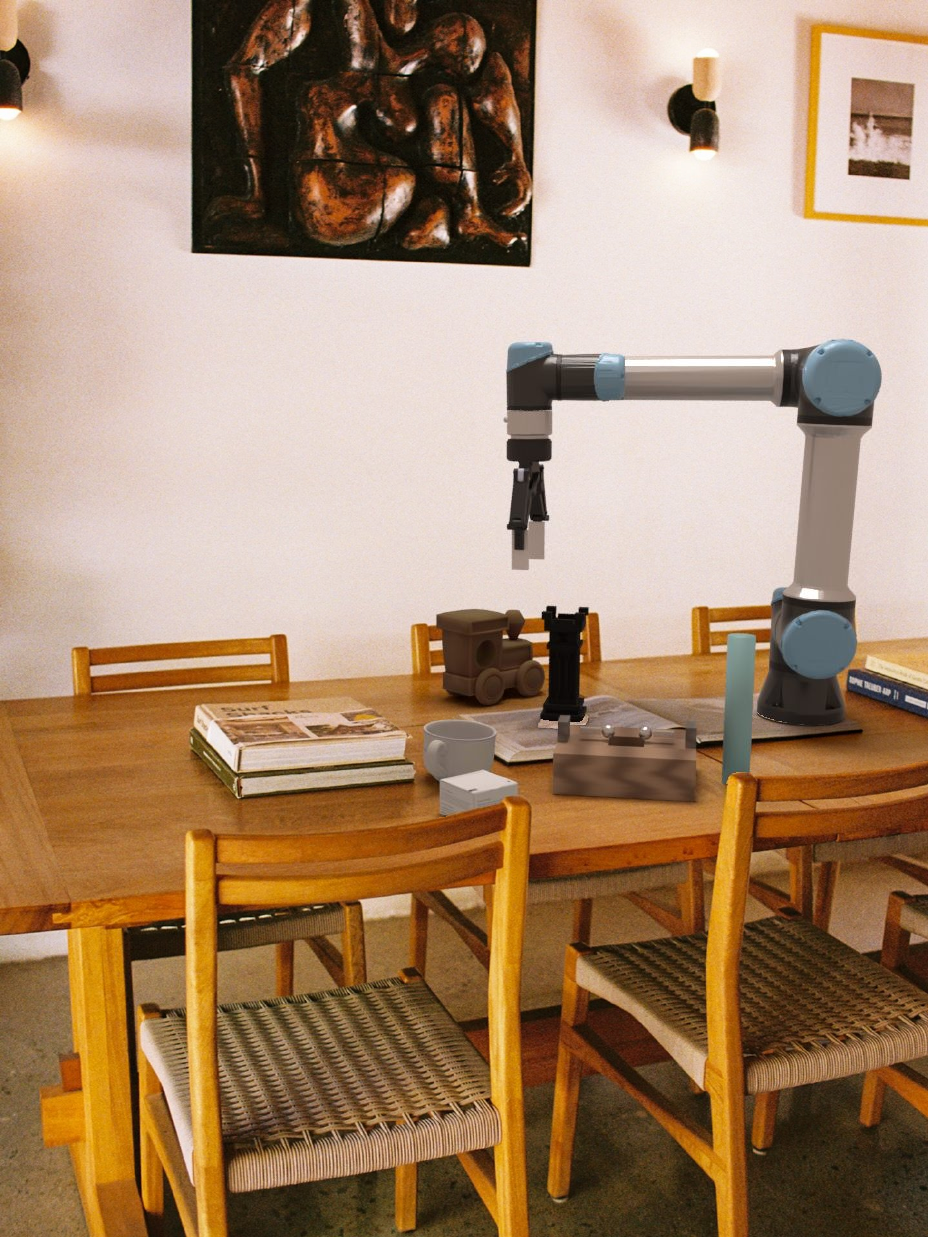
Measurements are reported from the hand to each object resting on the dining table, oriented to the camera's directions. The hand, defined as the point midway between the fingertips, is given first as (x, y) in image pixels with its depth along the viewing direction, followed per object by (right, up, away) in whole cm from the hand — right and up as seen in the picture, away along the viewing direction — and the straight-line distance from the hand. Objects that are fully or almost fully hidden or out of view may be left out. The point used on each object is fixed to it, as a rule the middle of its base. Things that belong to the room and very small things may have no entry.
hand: (528, 564), depth 211 cm
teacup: (-13, -33, -27) cm, 45 cm away
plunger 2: (+17, -27, -28) cm, 43 cm away
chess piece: (+6, -28, +6) cm, 29 cm away
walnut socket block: (+13, -33, -26) cm, 44 cm away
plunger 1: (+9, -27, -27) cm, 39 cm away
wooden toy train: (-6, -24, +25) cm, 35 cm away
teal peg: (+29, -33, -27) cm, 52 cm away
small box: (-9, -36, -42) cm, 56 cm away
